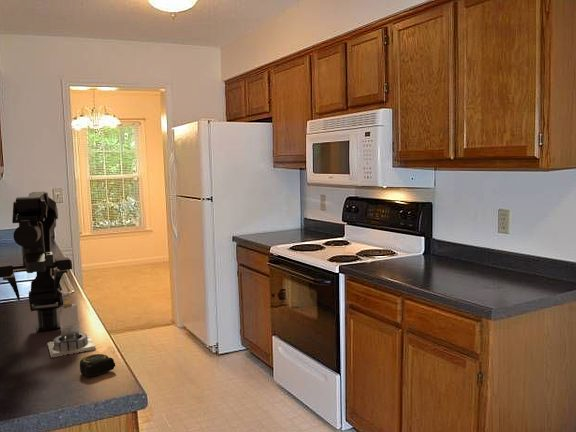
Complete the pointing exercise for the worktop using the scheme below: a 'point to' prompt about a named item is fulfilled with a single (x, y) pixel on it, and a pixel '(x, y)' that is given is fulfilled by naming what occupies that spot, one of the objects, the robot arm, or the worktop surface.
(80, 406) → the worktop surface
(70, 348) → the socket flange
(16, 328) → the worktop surface
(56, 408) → the worktop surface
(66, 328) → the gold-capped glass bottle
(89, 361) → the tape measure
